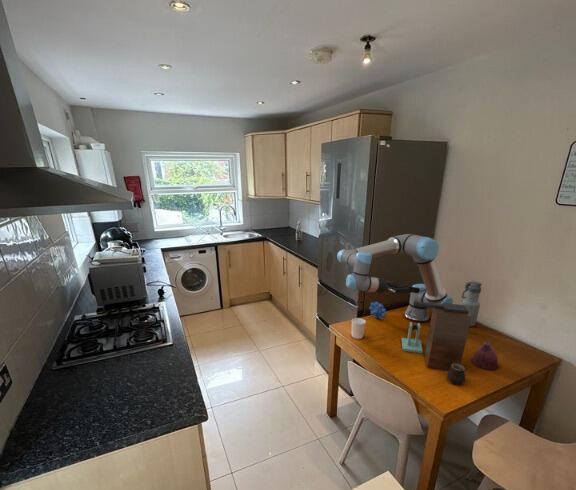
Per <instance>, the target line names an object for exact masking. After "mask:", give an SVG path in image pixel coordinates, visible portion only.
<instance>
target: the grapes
mask: <svg viewBox="0 0 576 490" xmlns="http://www.w3.org/2000/svg"><path fill="white" fill-rule="evenodd" d="M368 309H369V310H370V315H371V316H373V317H374V319H376V320H377V319H379V320H383V319H384V318H386V316H387V314H386V312H387V309H386V308H384V305H383V304H382V303H379V301H374V302H370V306H369V307H368Z"/></svg>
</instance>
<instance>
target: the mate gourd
mask: <svg viewBox="0 0 576 490" xmlns="http://www.w3.org/2000/svg"><path fill="white" fill-rule="evenodd" d="M465 371H466V368H465V367H464V366H463V365H462V364H461V365H460V364H452V365H451V369H450V370H449V371H447V373H446V375H447V380H448V381H449V382H450V383H451V384H453V385H462V384H463V383H464V382H465V380H466V374H465Z"/></svg>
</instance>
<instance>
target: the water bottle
mask: <svg viewBox="0 0 576 490" xmlns="http://www.w3.org/2000/svg"><path fill="white" fill-rule="evenodd" d="M482 285H483V283H482V282H478V281H474V280H472V281H468V282H466V283H465V285H464V289H465V290H463V291H462V295H461V298H462V299H463V300H462V302H461V305H465V306H466V308H467V309H468V311H469V313H470V315H471V316H472V318H471V322H470V326H469V327H475V326H476V323H477V320H478V316H479V312H480V307H481V303H480V302H479V298H480V294H481V292H482ZM465 293H466V296H465Z"/></svg>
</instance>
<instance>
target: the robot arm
mask: <svg viewBox="0 0 576 490" xmlns="http://www.w3.org/2000/svg"><path fill="white" fill-rule="evenodd" d="M439 250H440V249H439V243H438V242H437V240H435V239H434V238H431V237H428V236H424V235H423V236H422V235H418V234H412V233H406V234H399V235H395V236H391V237H389V238H388V239H386V240H384V241H379V242H376V243H372V244H369V245H365V246H361V247H357V248H352V249H350V250H349V249H341V250H339V251H338V252H337V255H336V257H337V258H336V259H337V261H338V262H339V263H341V264H342V265H345V266H348V267H349V268H352V270H353V271H352V273H350V274H347V276H346V278H345V285H346V288H347V289H349V290H354V291H362V292H363V291H364V292H368V293H371V292H372V293H378V294H384V292H392V294H394V295H395V294H407V295H408V294H409V293H410V296H409V303H408V306H407V308H406V310H405V311H404V317H405V319H407V320H409V321H412V322H417V323H426V322H429V320H430V313H429V309H430V310H431V311H433V308H426V307H417V306H414V305H413V304H414V301H415V302H424V303H438V304H442V303H448V304H454V299H453V296H450V295H449V294H447V291H446V290H447V289H445V287H443V286H442V282H441V279H440V276H439V272H438V269H437V265H436V262H435V260H436V257H437V256H438V255H439ZM389 254H392V255H396V254H404V255H407V256H410V257H412V260H413V263H414V264H415V265H417V266H418V269H419V272H420V275H421V279H422V282H423V283H416V284H413V285H412V286H410V285H408V284H407V283H405V284H404V283H400V282H395V281H390V280H386V279H385V278H382V277H375V276H368V275H369V272H370V268H371V264H372V259H374V258H379V257H382V256H385V255H389Z"/></svg>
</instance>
